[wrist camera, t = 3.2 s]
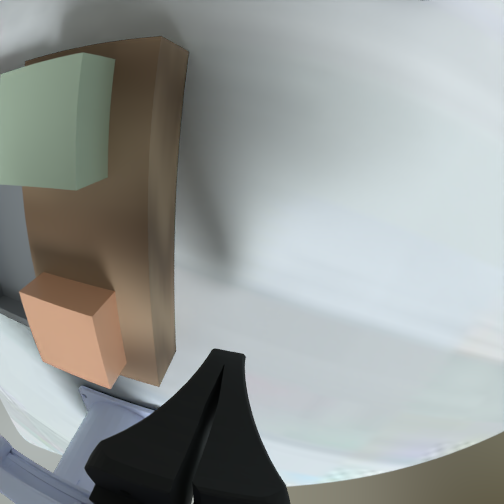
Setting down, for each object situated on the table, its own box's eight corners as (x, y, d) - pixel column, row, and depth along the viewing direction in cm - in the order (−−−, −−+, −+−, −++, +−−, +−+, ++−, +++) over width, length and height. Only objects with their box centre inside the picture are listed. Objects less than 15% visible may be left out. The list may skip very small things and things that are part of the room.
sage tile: (107, 177, 10) (76, 190, 9) (30, 172, 11) (-1, 184, 9) (115, 59, 9) (82, 52, 7) (33, 74, 9) (0, 74, 7)
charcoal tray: (77, 323, 18) (61, 340, 16) (6, 295, 19) (-10, 308, 17) (60, 65, 11) (35, 63, 10) (-17, 87, 12) (-38, 89, 10)
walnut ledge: (175, 351, 18) (159, 386, 15) (80, 324, 18) (57, 351, 15) (189, 51, 11) (161, 36, 8) (64, 64, 11) (25, 61, 9)
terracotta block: (126, 362, 14) (110, 389, 13) (61, 339, 15) (42, 361, 13) (115, 291, 13) (92, 316, 11) (43, 271, 13) (18, 291, 11)
